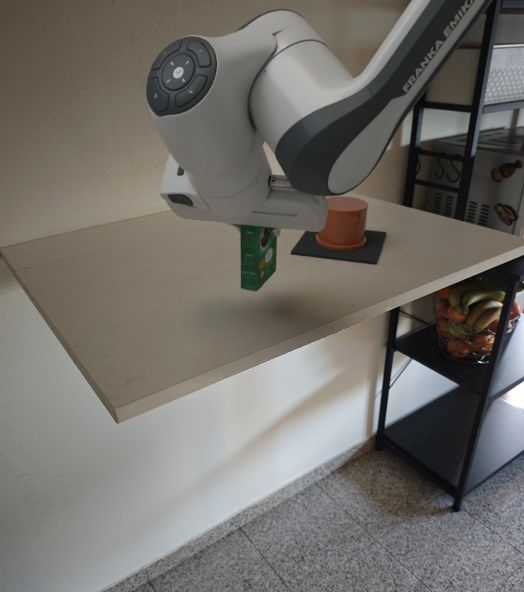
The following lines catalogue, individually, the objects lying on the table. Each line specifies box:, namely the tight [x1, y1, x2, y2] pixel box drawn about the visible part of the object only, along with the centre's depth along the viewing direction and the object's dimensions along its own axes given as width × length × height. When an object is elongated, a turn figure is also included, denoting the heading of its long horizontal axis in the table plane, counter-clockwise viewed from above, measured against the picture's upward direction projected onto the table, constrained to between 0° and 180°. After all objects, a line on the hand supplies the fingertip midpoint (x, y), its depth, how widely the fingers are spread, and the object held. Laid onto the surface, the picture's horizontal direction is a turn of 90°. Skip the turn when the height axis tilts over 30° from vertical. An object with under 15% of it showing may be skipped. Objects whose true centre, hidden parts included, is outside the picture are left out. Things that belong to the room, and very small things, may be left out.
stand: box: [316, 195, 369, 251], centre depth 96 cm, size 10×10×8 cm
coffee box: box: [239, 224, 278, 293], centre depth 70 cm, size 8×3×13 cm, turn 160°
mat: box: [290, 229, 387, 265], centre depth 98 cm, size 16×16×1 cm
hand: (260, 229), depth 70 cm, fingers closed on coffee box, 3 cm apart
